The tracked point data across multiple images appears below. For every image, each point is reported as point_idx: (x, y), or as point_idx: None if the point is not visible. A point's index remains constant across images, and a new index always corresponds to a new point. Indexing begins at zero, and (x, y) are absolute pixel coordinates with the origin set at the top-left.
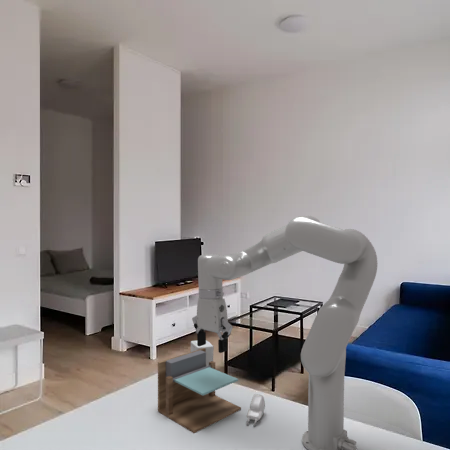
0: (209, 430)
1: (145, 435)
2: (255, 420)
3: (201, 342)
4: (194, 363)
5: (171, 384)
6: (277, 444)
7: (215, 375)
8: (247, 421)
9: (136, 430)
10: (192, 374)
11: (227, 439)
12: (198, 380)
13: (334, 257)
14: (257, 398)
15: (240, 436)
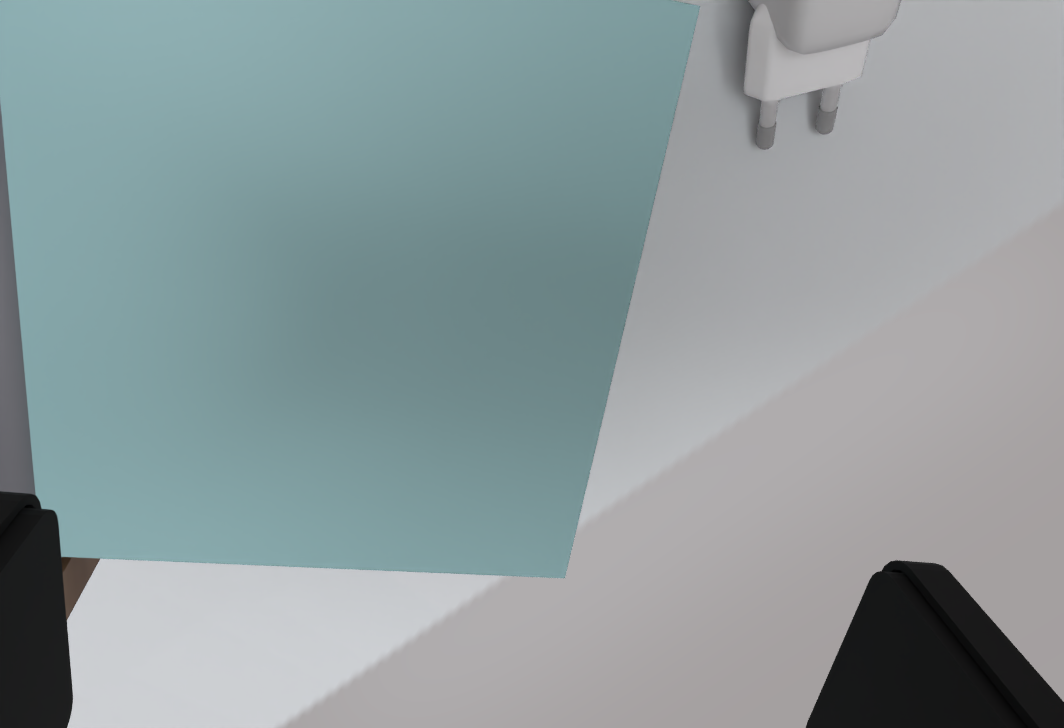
0: None
1: (252, 635)
2: (832, 95)
3: (30, 724)
4: None
5: (73, 576)
6: (1028, 214)
7: (346, 116)
8: (768, 134)
9: (154, 639)
10: (58, 307)
11: (713, 367)
12: (286, 393)
13: None
14: None
15: (772, 287)
